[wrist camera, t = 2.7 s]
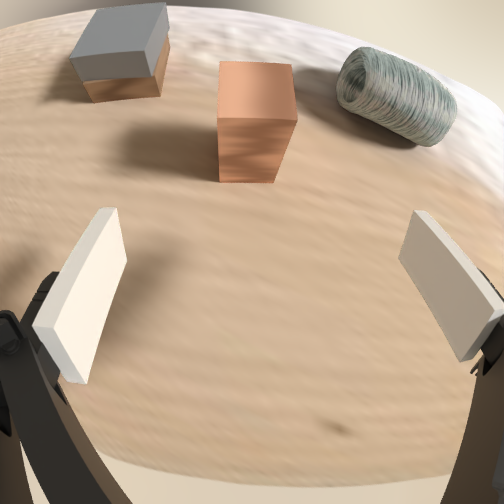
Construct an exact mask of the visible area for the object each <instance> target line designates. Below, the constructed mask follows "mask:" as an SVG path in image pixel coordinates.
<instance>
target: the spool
mask: <svg viewBox="0 0 504 504" xmlns="http://www.w3.org/2000/svg"><path fill="white" fill-rule="evenodd" d="M336 94H337V100H338V102H339V104H340V106H342V107H343V108H344V109H346V110H348V111H349V112H351V113H355V114H358V115H360V116H362V117H364V118H366V119H369V120H371V121H373V122H375V123H377V124H379V125H382V126H384V127H386V128H388V129H389V130H391V131H393V132H395V133H397V134H399V135H401V136H403V137H405V138H406V139H409V140H411V141H412V142H414V143H417V144H419V145H421V146H425V147H431V146H433V145H436V144H437V143H439V142H440V141H441V140H442V139H443V137H444V136H445V135H446V134H447V132H448V131H449V129H450V127H451V126H452V124H453V122H454V121H455V119H456V116H457V104H456V100H455V98H454V96H453V95H452V93H451V92H450V91H449V90H448V89H447V88H446V87H445V86H444V85H443V84H442V83H441V82H440V81H438V80H437V79H436V78H435V77H433V76H431V75H430V74H428V73H427V72H425V71H423V70H422V69H420V68H419V67H417V66H415V65H413V64H411V63H409V62H407V61H405V60H402V59H400V58H398V57H396V56H393V55H389V54H387V53H385V52H382V51H378V50H376V49H373V48H371V47H360V48H358V49H356V50H354V51H353V52H352V53H351V54H350V55H349V57H348V58H347V59H346V61H345V62H344V64H343V66H342V69H341V71H340V73H339V76H338V80H337V85H336Z"/></svg>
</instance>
